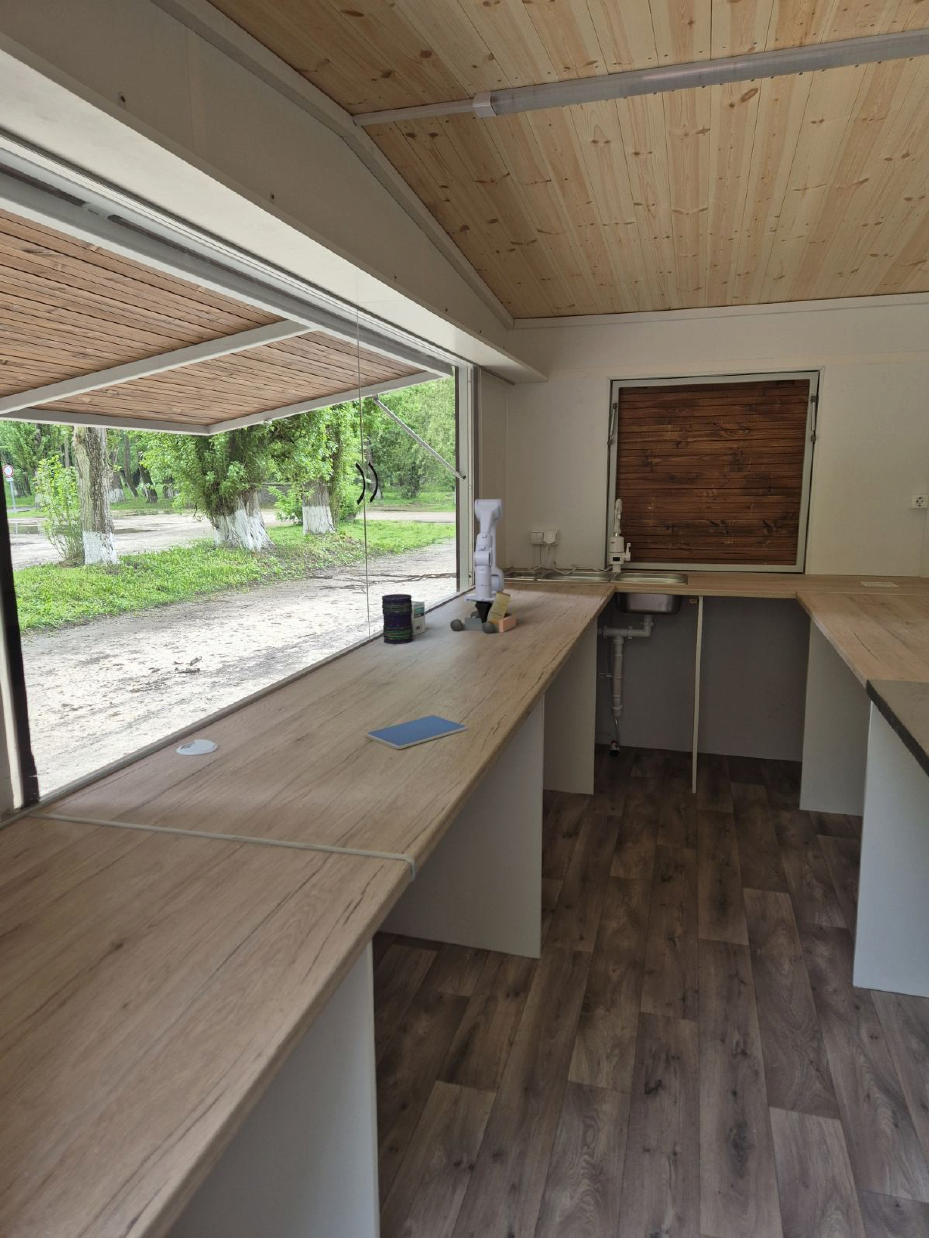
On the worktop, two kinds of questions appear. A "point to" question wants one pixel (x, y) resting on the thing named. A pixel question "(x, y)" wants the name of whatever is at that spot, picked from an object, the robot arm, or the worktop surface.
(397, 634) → the storage jar
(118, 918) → the worktop surface
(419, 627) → the light bulb box
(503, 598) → the shoe polish box
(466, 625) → the chassis
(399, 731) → the tablet computer
